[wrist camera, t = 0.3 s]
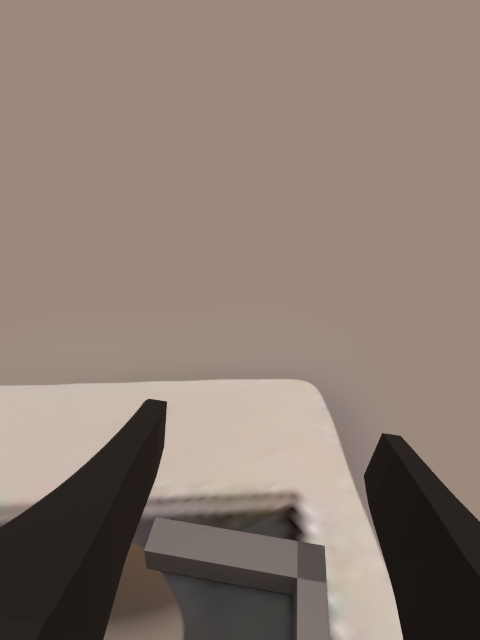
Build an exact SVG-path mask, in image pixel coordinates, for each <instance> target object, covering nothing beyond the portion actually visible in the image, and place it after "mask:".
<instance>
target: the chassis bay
mask: <svg viewBox="0 0 480 640" xmlns="http://www.w3.org/2000/svg"><path fill="white" fill-rule="evenodd" d="M144 553H145V559H146V565H147V569H153V570H158V571H164V572H169V573H175V574H180V575H185V576H191V577H196V578H202V579H207V580H212V581H218V582H223V583H229V584H234V585H240V586H245V587H250V588H256V589H261V590H267V591H272V592H278V593H283V594H288V595H293V629H292V640H330V636H329V617H328V599H327V581H326V563H325V546H322V545H316V544H310V543H304V542H298V541H292V540H287V539H281V538H275V537H269V536H263V535H257V534H251V533H245V532H239V531H234V530H228V529H222V528H216V527H210V526H204V525H198V524H192V523H186V522H181V521H175V520H169V519H163V518H157V517H156V518H155V521H154V524H153V527H152V530H151V532H150V535H149V538H148V541H147V544H146V547H145V550H144Z"/></svg>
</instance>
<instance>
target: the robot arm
mask: <svg viewBox="0 0 480 640" xmlns="http://www.w3.org/2000/svg"><path fill="white" fill-rule="evenodd" d="M166 408H167V402H166V401H160V400H153V399H148V400H146V401H145V402H144V403H143V404H142V406H141V407H140V408H139V409H138V411H137V412H136V413H135V414H134V415H133V416H132V418H131V419H130V420H129V421H128V422H127V423H126V424H125V425H124V427H123V428H122V429H121V430H120V431H119V432H118V433H117V434H116V435H115V436H114V437H113V438H112V439H111V440H110V441H109V442H108V443H107V444H106V445H105V446H104V447H103V448H102V449H101V450H100V451H99V452H98V453H97V454H96V455H95V456H93V457H92V458H91V459H90V460H89V461H88V462H87V463H86V464H85V465H84V466H83V467H81V468H80V469H79V470H78V471H77V472H76V473H74V474H73V475H72V476H71V477H70V478H68V479H67V480H66V481H65V482H64V483H62V484H61V485H60V486H59V487H57V488H56V489H55V490H53V491H52V492H51V493H49V494H48V495H47V496H45V497H44V498H43V499H41V500H40V501H39V502H37V503H36V504H34V505H33V506H32V507H30V508H29V509H27V510H26V511H25V512H23V513H22V514H20V515H19V516H17V517H16V518H14V519H12V520H11V521H9V522H8V523H6V524H5V525H3V526H1V527H0V640H103V639H104V635H105V631H106V628H107V623H108V620H109V617H110V613H111V609H112V606H113V602H114V598H115V595H116V591H117V588H118V584H119V581H120V577H121V574H122V570H123V566H124V563H125V560H126V557H127V553H128V551H129V548H130V545H131V542H132V540H133V537H134V534H135V532H136V529H137V526H138V524H139V521H140V518H141V516H142V513H143V510H144V508H145V505H146V503H147V500H148V497H149V495H150V492H151V489H152V487H153V484H154V481H155V478H156V475H157V472H158V468H159V464H160V460H161V456H162V452H163V449H164V439H165V424H166ZM364 479H365V486H366V493H367V498H368V504H369V509H370V512H371V516H372V519H373V523H374V526H375V529H376V533H377V536H378V540H379V543H380V546H381V550H382V553H383V557H384V560H385V563H386V567H387V570H388V573H389V577H390V580H391V584H392V588H393V592H394V595H395V600H396V605H397V610H398V615H399V620H400V625H401V629H402V634H403V640H480V522H479V521H478V519H477V518H475V517H474V515H473V514H472V513H470V511H469V510H468V509H467V508H466V507H465V506H464V505H463V504H462V503H461V502H460V501H459V500H458V499H457V498H456V497H455V496H454V495H453V494H452V493H451V492H450V491H449V490H448V488H447V487H446V486H445V485H444V484H443V483H442V482H441V481H440V480H439V478H438V477H437V476H436V475H435V474H434V473H433V472H432V471H431V470H430V468H429V467H428V466H427V465H426V464H425V463H424V462H423V461H422V459H421V458H420V457H419V456H418V455H417V454H416V453H415V451H414V450H413V449H412V448H411V447H410V446H409V445H408V444H407V442H406V441H405V440H404V439H403V438H402V437H401V436H397V435H391V434H384V433H382V435H381V437H380V440H379V442H378V445H377V447H376V449H375V451H374V453H373V456H372V458H371V460H370V463H369V465H368V467H367V470H366V472H365V474H364Z"/></svg>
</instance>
